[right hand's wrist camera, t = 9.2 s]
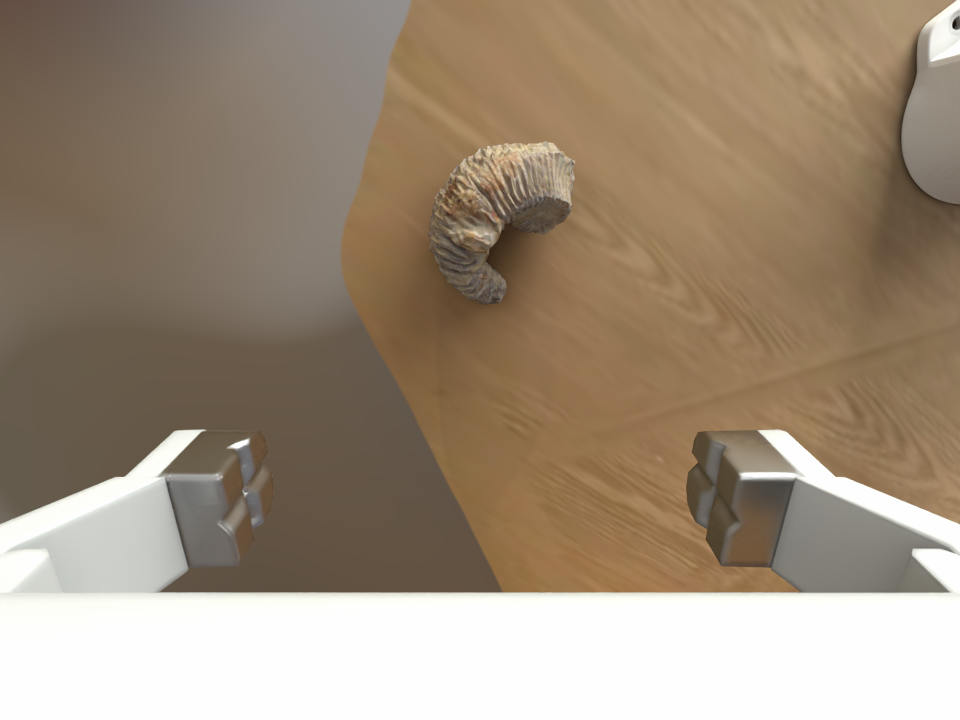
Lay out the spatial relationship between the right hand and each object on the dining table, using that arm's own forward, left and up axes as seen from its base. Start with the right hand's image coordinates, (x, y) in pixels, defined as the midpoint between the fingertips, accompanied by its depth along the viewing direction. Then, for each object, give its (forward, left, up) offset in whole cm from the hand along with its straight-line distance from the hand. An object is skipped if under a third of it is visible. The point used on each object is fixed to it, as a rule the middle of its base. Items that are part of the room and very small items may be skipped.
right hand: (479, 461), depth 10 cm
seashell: (-1, +2, -38) cm, 38 cm away
